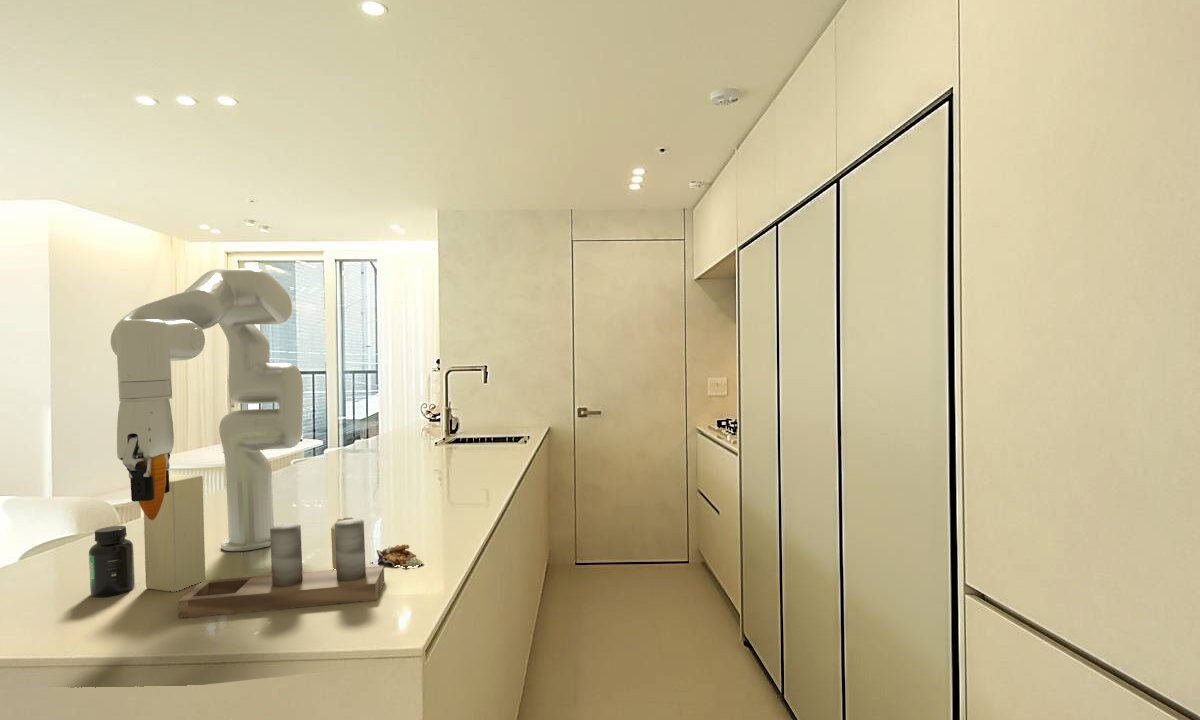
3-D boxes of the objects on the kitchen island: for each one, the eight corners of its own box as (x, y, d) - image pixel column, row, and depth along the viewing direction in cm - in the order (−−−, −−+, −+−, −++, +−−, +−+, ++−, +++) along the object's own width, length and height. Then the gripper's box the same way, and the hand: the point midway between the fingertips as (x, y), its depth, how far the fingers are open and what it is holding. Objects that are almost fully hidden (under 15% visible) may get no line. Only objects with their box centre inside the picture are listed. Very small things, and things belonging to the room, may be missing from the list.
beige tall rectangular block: (210, 579, 131) (206, 474, 131) (175, 592, 124) (171, 481, 124) (180, 576, 134) (176, 472, 134) (145, 588, 127) (140, 480, 127)
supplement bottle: (86, 600, 122) (84, 535, 122) (94, 589, 128) (92, 527, 128) (131, 593, 125) (129, 530, 125) (137, 582, 131) (135, 522, 131)
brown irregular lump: (410, 572, 133) (410, 555, 133) (367, 565, 139) (367, 548, 138) (434, 562, 139) (433, 545, 139) (392, 555, 145) (391, 539, 145)
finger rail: (203, 596, 122) (200, 526, 122) (384, 581, 127) (381, 513, 127) (178, 618, 112) (175, 542, 112) (375, 600, 117) (373, 527, 117)
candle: (351, 572, 133) (349, 522, 133) (326, 571, 134) (325, 522, 134) (366, 563, 139) (364, 515, 138) (342, 562, 140) (340, 515, 140)
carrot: (145, 516, 116) (141, 432, 116) (175, 515, 117) (171, 431, 116) (128, 524, 111) (123, 436, 111) (159, 523, 112) (154, 434, 111)
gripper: (146, 388, 121) (151, 487, 122) (92, 396, 104) (98, 510, 105) (191, 387, 122) (196, 484, 123) (144, 394, 106) (150, 507, 106)
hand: (151, 495), depth 114 cm, fingers closed on carrot, 4 cm apart
